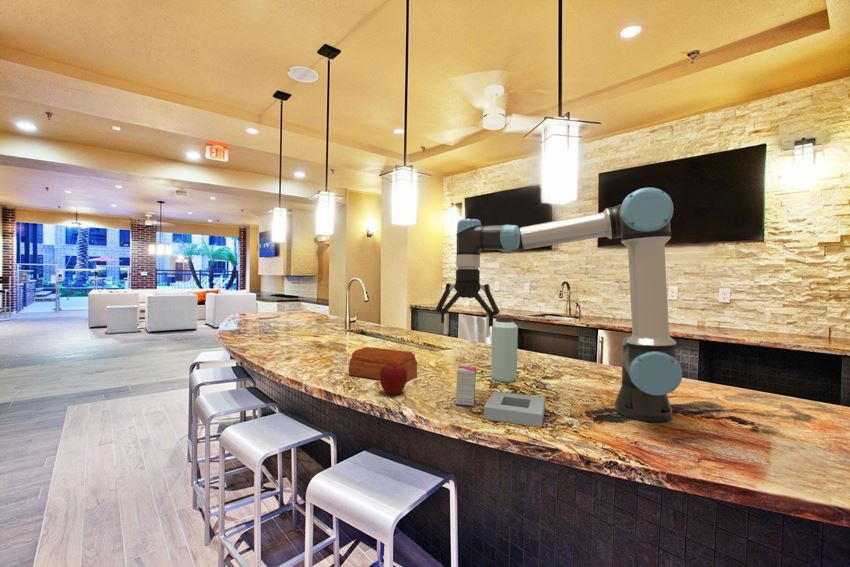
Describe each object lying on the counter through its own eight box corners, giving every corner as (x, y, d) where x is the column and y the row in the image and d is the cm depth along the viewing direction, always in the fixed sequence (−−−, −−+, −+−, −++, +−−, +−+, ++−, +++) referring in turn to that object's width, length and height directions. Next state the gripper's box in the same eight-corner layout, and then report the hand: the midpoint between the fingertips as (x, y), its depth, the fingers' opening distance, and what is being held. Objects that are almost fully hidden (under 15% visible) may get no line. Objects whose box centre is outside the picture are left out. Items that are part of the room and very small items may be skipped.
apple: (400, 399, 127) (401, 368, 127) (374, 395, 131) (374, 366, 130) (410, 391, 136) (411, 362, 136) (386, 388, 139) (386, 360, 139)
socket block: (544, 408, 120) (545, 397, 120) (541, 427, 105) (542, 414, 105) (493, 402, 126) (493, 391, 125) (483, 419, 111) (483, 406, 110)
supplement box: (474, 407, 120) (474, 371, 120) (455, 406, 121) (455, 369, 121) (475, 401, 126) (476, 366, 126) (457, 400, 127) (458, 365, 127)
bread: (402, 385, 144) (402, 356, 144) (344, 376, 156) (344, 350, 156) (420, 375, 158) (421, 349, 158) (366, 368, 170) (366, 344, 170)
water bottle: (522, 380, 152) (523, 317, 151) (504, 384, 146) (505, 318, 146) (503, 375, 160) (504, 315, 160) (485, 378, 154) (486, 316, 154)
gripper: (509, 269, 122) (507, 336, 122) (434, 268, 130) (433, 330, 131) (505, 268, 115) (504, 339, 115) (427, 267, 123) (425, 334, 124)
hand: (466, 335), depth 123 cm, fingers open, 13 cm apart
